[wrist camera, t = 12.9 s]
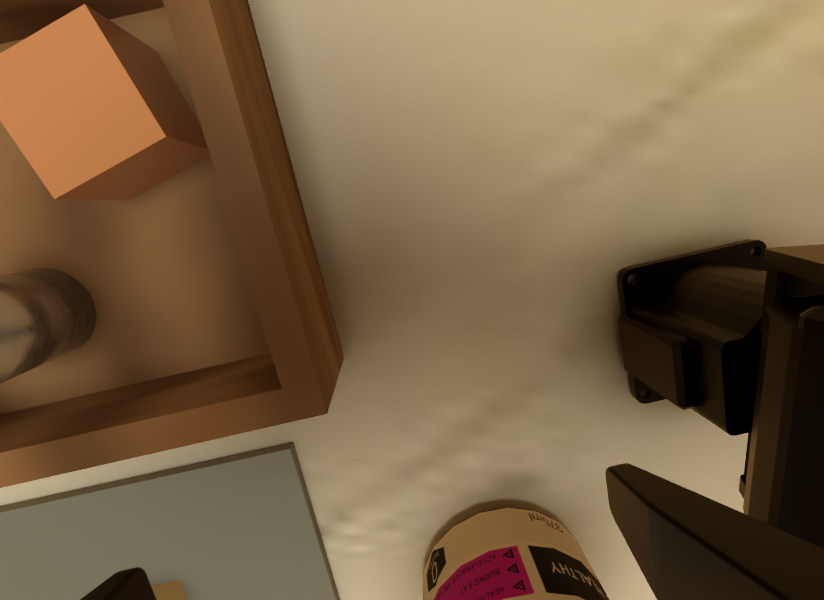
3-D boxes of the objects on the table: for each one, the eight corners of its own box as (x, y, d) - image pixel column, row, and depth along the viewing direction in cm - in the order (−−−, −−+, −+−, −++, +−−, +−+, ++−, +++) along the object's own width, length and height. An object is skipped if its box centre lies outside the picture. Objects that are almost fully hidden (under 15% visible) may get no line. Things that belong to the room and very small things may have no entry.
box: (237, -35, 17) (165, -150, 11) (343, 357, 20) (327, 413, 15) (-178, 58, 17) (-447, -11, 11) (-1, 436, 20) (-143, 520, 15)
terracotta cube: (157, 51, 16) (84, 3, 13) (216, 151, 17) (166, 136, 13) (66, 103, 17) (-33, 72, 13) (129, 200, 18) (54, 199, 14)
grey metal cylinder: (77, 259, 18) (-10, 274, 14) (109, 342, 19) (35, 378, 15) (-11, 278, 18) (-122, 299, 14) (25, 361, 19) (-70, 402, 15)
